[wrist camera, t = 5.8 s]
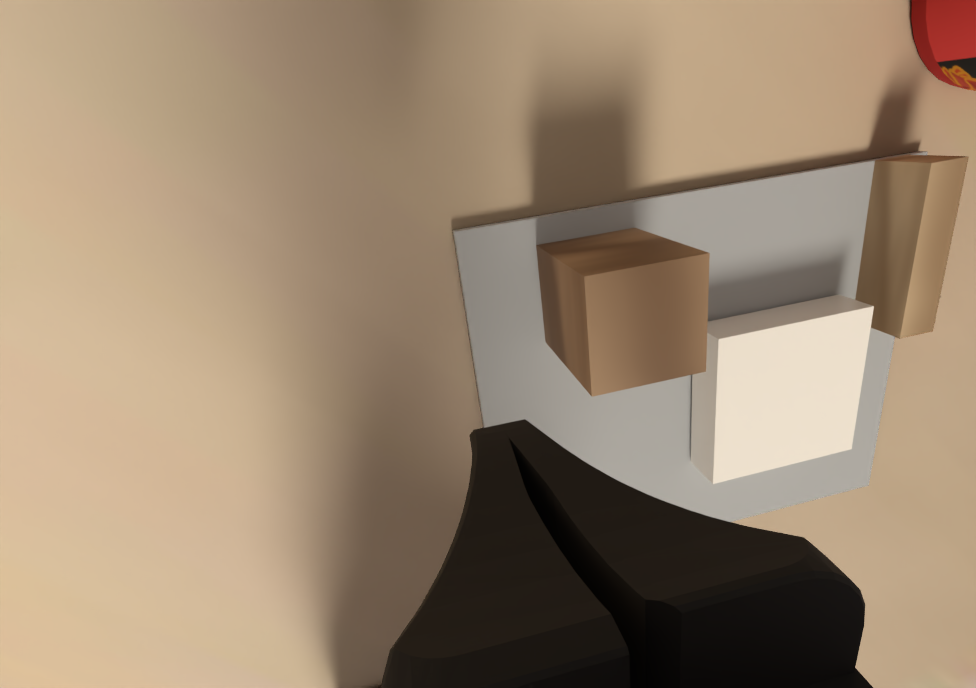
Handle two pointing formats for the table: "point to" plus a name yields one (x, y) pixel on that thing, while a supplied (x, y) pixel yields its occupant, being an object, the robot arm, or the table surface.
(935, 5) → the canned food
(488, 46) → the table surface
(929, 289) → the rail
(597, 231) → the mat
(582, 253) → the block
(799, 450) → the tile
